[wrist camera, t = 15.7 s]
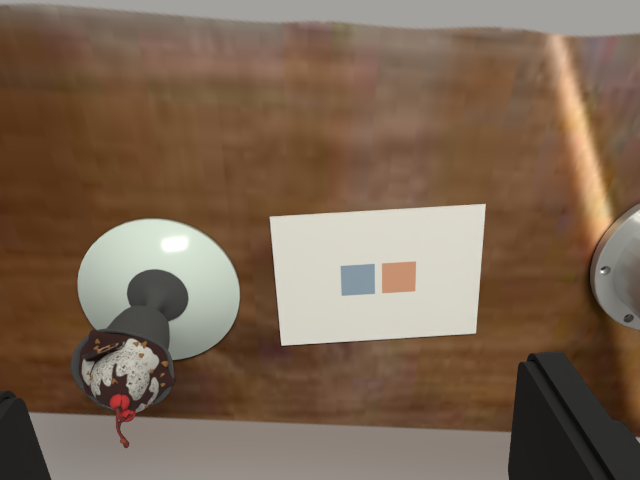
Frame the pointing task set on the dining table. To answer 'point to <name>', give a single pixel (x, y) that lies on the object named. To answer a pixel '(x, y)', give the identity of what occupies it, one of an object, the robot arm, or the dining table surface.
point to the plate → (169, 255)
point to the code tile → (378, 273)
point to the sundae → (133, 349)
